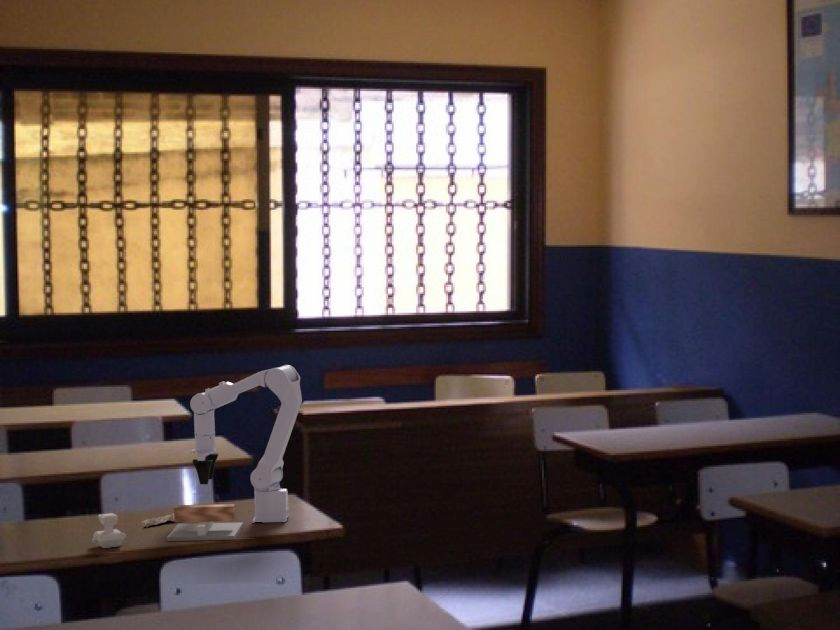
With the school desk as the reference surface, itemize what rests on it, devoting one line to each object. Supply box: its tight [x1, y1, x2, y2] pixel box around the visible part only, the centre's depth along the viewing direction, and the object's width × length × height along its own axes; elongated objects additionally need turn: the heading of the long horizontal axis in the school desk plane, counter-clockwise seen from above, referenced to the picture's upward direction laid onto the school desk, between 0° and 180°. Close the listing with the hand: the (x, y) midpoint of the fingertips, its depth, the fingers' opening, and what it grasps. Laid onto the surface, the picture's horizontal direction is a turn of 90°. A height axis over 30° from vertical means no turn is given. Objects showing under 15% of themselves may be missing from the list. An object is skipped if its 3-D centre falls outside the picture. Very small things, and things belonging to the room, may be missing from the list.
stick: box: [173, 503, 236, 523], centre depth 346 cm, size 16×3×4 cm, turn 89°
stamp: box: [91, 512, 127, 549], centre depth 334 cm, size 9×7×8 cm
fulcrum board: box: [166, 522, 244, 542], centre depth 347 cm, size 18×16×4 cm
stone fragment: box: [140, 512, 175, 528], centre depth 364 cm, size 25×3×10 cm
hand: (206, 481), depth 366 cm, fingers open, 7 cm apart
